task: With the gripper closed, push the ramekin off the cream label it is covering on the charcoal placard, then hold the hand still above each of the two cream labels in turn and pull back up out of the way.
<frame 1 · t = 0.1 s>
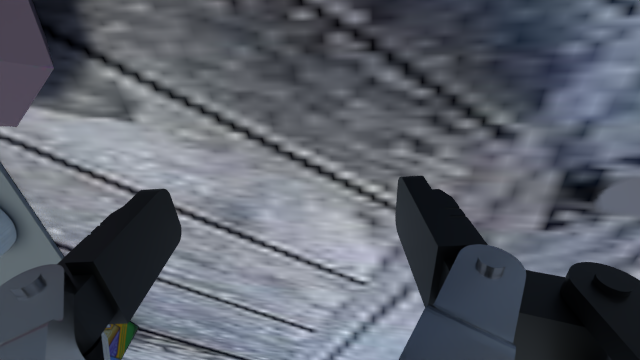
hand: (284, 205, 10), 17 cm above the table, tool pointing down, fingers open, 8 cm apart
chalk box: (94, 320, 42), on the table
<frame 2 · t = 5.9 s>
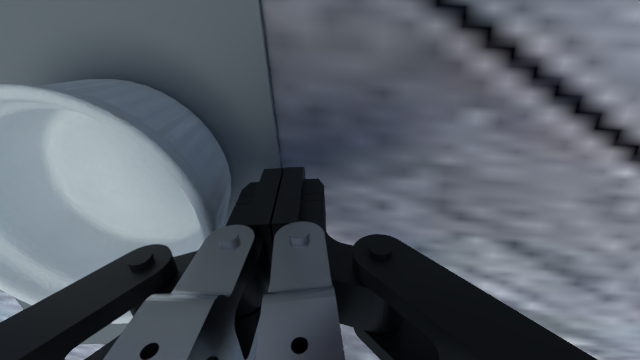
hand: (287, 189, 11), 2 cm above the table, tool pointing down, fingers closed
ramekin: (144, 168, 13), resting on label placard, touching gripper
label placard: (104, 168, 13), on the table
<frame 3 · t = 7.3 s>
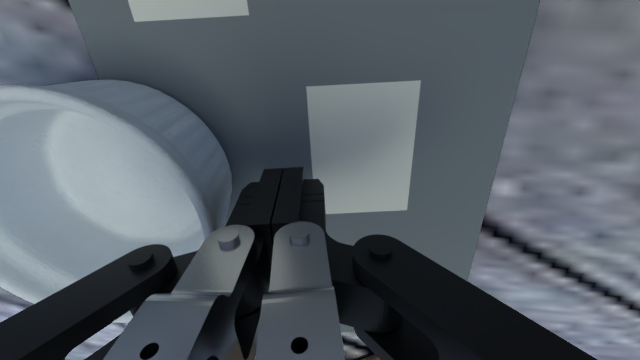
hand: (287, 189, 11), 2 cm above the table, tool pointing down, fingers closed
ramekin: (146, 168, 13), resting on label placard, touching gripper
label placard: (315, 153, 13), on the table
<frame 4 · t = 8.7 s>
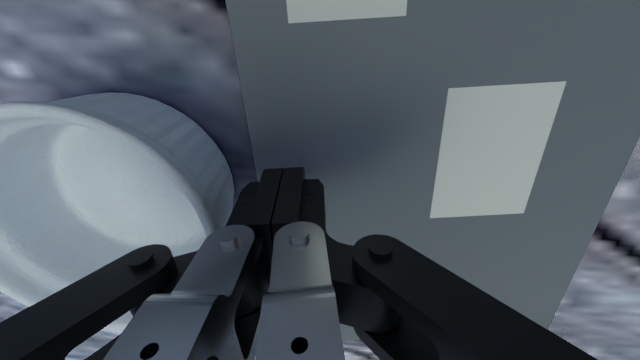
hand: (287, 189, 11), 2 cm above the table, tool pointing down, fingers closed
ramekin: (150, 177, 14), on the table, touching gripper
label placard: (439, 156, 13), on the table
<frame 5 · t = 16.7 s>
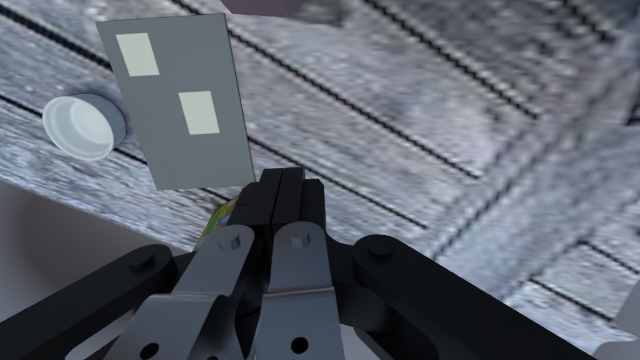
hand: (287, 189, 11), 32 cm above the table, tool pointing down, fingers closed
ramekin: (100, 120, 43), on the table
chalk box: (250, 216, 51), on the table
label placard: (186, 113, 42), on the table
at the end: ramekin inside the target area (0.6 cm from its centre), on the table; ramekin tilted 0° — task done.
